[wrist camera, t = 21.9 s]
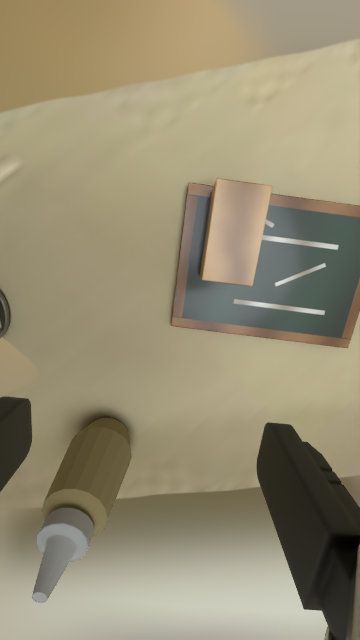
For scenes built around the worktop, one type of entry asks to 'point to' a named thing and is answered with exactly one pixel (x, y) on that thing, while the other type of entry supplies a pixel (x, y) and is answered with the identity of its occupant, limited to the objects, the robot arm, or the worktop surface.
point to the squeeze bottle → (80, 498)
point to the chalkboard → (278, 274)
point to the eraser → (234, 231)
